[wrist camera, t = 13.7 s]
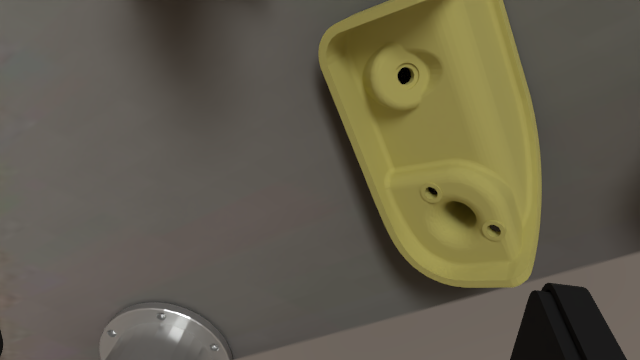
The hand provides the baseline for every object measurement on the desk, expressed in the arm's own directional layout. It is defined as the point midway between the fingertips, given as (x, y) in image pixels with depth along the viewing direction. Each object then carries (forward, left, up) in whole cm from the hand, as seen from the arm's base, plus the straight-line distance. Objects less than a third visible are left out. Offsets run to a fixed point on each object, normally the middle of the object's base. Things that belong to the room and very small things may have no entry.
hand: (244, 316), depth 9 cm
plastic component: (-7, -7, -31) cm, 32 cm away
